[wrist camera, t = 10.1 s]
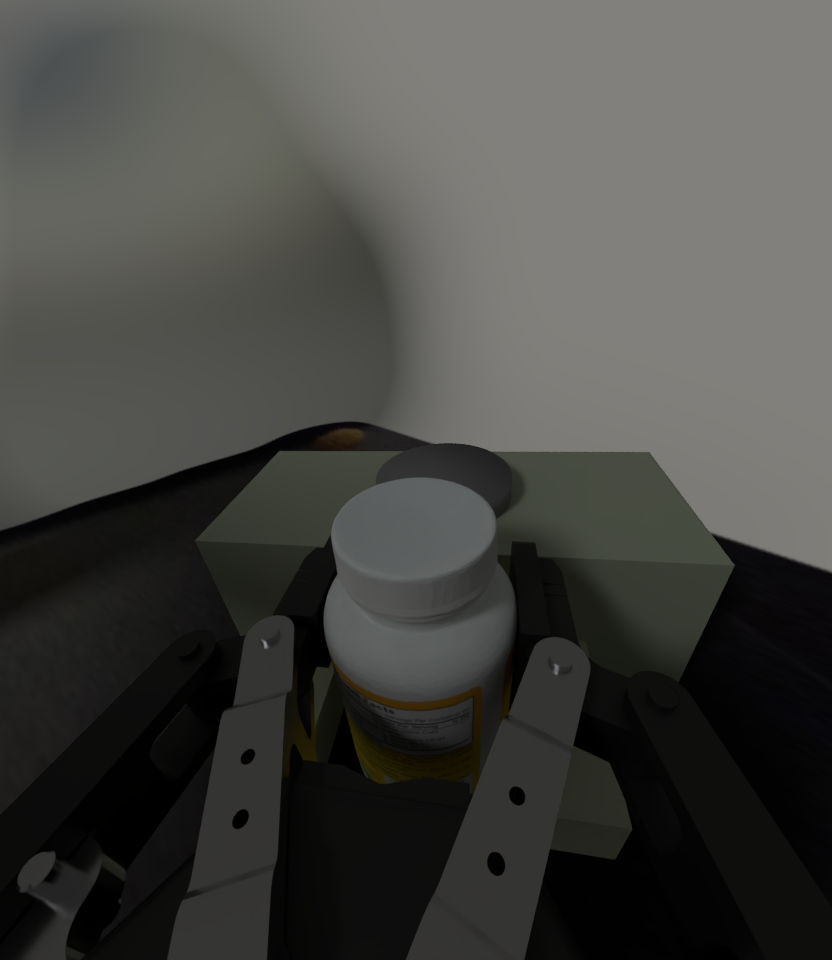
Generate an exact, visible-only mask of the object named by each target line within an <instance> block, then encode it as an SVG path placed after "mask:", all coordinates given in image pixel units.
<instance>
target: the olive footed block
mask: <svg viewBox="0 0 832 960" xmlns="http://www.w3.org/2000/svg"><path fill="white" fill-rule="evenodd" d="M416 477H419V478H435V479H442V480H446V481H451V482H455V483H458V484H461V485H463V486H465V487H468V488H470V489H471V490H473V491H475V492H476V493H478V494H479V495H480V496H482V497H483V498H484V499H485V500H486V501H487V502H488V503H489V505H490V506H491V508H492V509H493V511H494V513H495V516H496V520H497V554H498V558H497V562H498V563H499V564H500V565H501V567H502V568H503V569H504V571H505V572H506V574H507V576H508V577H509V573H510V558H511V544H512V541H523V542H535V543H536V549H537V555H538V558H544V559H553V560H554V562H555V563H556V564H557V565H558V567H559V568H560V569H561V570H562V574H563V578H564V582H565V587H566V591H567V595H568V596H567V597H568V600H569V604H570V608H571V613H572V617H573V622H574V626H575V630H576V635H577V639H578V642H579V645H580V647H581V648H582V650H583V651H584V653H585V654H586V655H587V656H588V657H589V658H590V659H591V660H592V661H594V662H595V663H596V664H598V665H600V666H601V667H603V668H606V669H608V670H610V671H613V672H616V673H618V674H621V675H624V676H626V677H629V678H631V677H632V675H634V674H635V673H638V672H641V671H655V672H659V673H662V674H664V675H667V676H669V677H671V678H672V679H674V680H675V681H677V682H679V680H680V678H681V676H682V674H683V672H684V670H685V668H686V666H687V663H688V661H689V659H690V657H691V655H692V653H693V651H694V649H695V647H696V645H697V643H698V641H699V638H700V636H701V634H702V632H703V630H704V628H705V626H706V624H707V622H708V620H709V618H710V616H711V613H712V611H713V609H714V607H715V605H716V603H717V601H718V599H719V597H720V595H721V593H722V591H723V588H724V586H725V584H726V582H727V580H728V578H729V576H730V574H731V572H732V570H733V568H734V566H735V565H734V564H733V563H732V561H731V560H730V559H729V557H728V556H727V555H726V553H725V552H724V551H723V549H722V548H721V547H720V545H719V544H718V543H717V541H716V540H715V539H714V538H713V536H712V535H711V534H710V532H709V531H708V530H707V528H706V527H705V526H704V524H703V523H702V522H701V520H700V519H699V518H698V516H697V515H696V514H695V512H694V511H693V510H692V508H691V507H690V506H689V504H688V503H687V502H686V501H685V499H684V498H683V497H682V495H681V494H680V492H679V491H678V490H677V488H676V487H675V486H674V484H673V483H672V482H671V480H670V479H669V478H668V476H667V475H666V474H665V472H664V471H663V470H662V469H661V467H660V466H659V465H658V463H657V462H656V461H655V459H654V458H653V457H652V455H651V454H650V453H649V452H490V451H488V450H486V449H483V448H479V447H476V446H471V445H465V444H452V443H450V444H449V443H448V444H447V443H444V444H431V445H425V446H420V447H416V448H412V449H409V450H406V451H279V452H278V453H277V454H276V455H275V456H274V457H273V458H272V460H271V461H270V462H269V463H268V464H267V465H266V466H265V467H264V468H263V469H262V470H261V471H260V472H259V473H258V474H257V475H256V476H255V478H254V479H253V480H252V481H251V482H250V483H249V484H248V485H247V486H246V487H245V488H244V489H243V490H242V491H241V492H240V493H239V494H238V495H237V497H236V498H235V499H234V500H233V501H232V502H231V503H230V504H229V505H228V506H227V507H226V508H225V509H224V510H223V511H222V512H221V513H220V515H219V516H218V517H217V518H216V519H215V520H214V521H213V522H212V523H211V524H210V525H209V526H208V527H207V528H206V529H205V530H204V531H203V533H202V534H201V535H200V536H199V537H198V538H197V539H196V540H195V543H196V545H197V547H198V549H199V551H200V553H201V555H202V557H203V559H204V561H205V563H206V565H207V567H208V569H209V572H210V574H211V576H212V578H213V580H214V582H215V584H216V586H217V588H218V590H219V592H220V594H221V596H222V599H223V601H224V603H225V605H226V607H227V609H228V611H229V613H230V615H231V617H232V619H233V621H234V623H235V625H236V628H237V630H238V632H239V634H240V636H243V635H246V634H247V633H248V631H249V630H250V629H251V628H252V627H253V626H254V625H255V624H256V623H257V622H259V621H261V620H262V619H265V618H267V617H270V616H272V615H273V613H274V611H275V610H276V608H277V606H278V604H279V603H280V601H281V599H282V597H283V596H284V594H285V592H286V590H287V588H288V587H289V585H290V583H291V581H293V578H294V576H295V574H296V573H297V571H299V567H300V565H301V564H302V562H303V560H304V558H305V557H306V556H307V555H308V554H309V553H311V552H312V551H313V550H314V549H315V548H316V547H320V548H324V546H325V544H326V542H327V540H328V538H329V537H330V535H331V531H332V525H333V522H334V519H335V517H336V516H337V514H338V513H339V511H340V510H341V508H342V507H343V506H344V505H345V504H346V503H347V502H348V501H349V500H350V499H352V498H353V497H355V496H356V495H357V494H359V493H361V492H362V491H364V490H366V489H369V488H371V487H373V486H375V485H378V484H381V483H385V482H389V481H393V480H398V479H404V478H416ZM513 671H514V666H513ZM514 672H515V671H514ZM312 679H313V682H314V714H315V749H316V756H317V761H318V762H323V763H328V760H329V757H330V753H331V750H332V747H333V743H334V740H335V737H336V733H337V730H338V727H339V723H340V720H341V716H342V713H343V710H344V703H343V701H342V697H341V694H340V690H339V686H338V683H337V679H336V676H335V672H334V668H333V665H332V661H331V663H330V666H329V668H325V667H317V668H316V671H315V673H314V676H313V678H312ZM631 831H632V826H631V822H630V818H629V814H628V810H627V806H626V801H625V799H624V796H623V794H622V792H621V789H620V787H619V784H618V782H617V780H616V777H615V775H614V773H613V770H612V768H611V765H610V763H609V762H607V761H605V760H603V759H600V758H598V757H596V756H594V755H592V754H590V753H588V752H586V751H583V750H581V749H579V748H577V747H575V746H573V749H572V755H571V759H570V764H569V768H568V772H567V777H566V781H565V785H564V790H563V794H562V798H561V803H560V807H559V811H558V816H557V820H556V824H555V829H554V833H553V837H552V842H551V846H550V849H553V850H559V851H565V852H571V853H577V854H583V855H590V856H596V857H602V858H608V859H614V860H615V859H616V857H617V855H618V854H619V852H620V850H621V848H622V847H623V845H624V843H625V841H626V840H627V838H628V836H629V834H630V832H631Z"/></svg>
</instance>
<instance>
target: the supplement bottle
mask: <svg viewBox="0 0 832 960" xmlns="http://www.w3.org/2000/svg"><path fill="white" fill-rule="evenodd" d="M331 540H332V547H333V552H334V557H335V561H336V568H337V576H336V577H335V579H334V581H333V583H332V585H331V587H330V590H329V592H328V595H327V598H326V603H325V607H324V621H323V624H324V633H325V638H326V643H327V647H328V650H329V654H330V658H331V661H332V665H333V668H334V672H335V676H336V679H337V683H338V686H339V690H340V694H341V697H342V701H343V703H344V707H345V711H346V714H347V718H348V722H349V725H350V729H351V733H352V737H353V741H354V744H355V749H356V753H357V756H358V759H359V762H360V765H361V767H362V770H363V772H364V774H365V776H366V777H367V778H369V779H371V780H373V781H375V782H377V783H379V784H389V783H395V782H401V781H407V780H413V779H419V778H425V777H428V778H435V779H442V780H449V781H456V782H463V783H470V797H473V794H474V791H475V789H476V786H477V784H478V781H479V779H480V776H481V773H482V771H483V768H484V766H485V763H486V760H487V758H488V755H489V753H490V750H491V747H492V745H493V742H494V740H495V737H496V735H497V732H498V729H499V727H500V725H501V722H502V720H503V719H504V717H505V716H507V715H508V712H509V702H510V692H511V684H512V675H513V666H514V658H515V649H516V639H517V628H518V610H517V599H516V595H515V592H514V589H513V586H512V584H511V581H510V579H509V577H508V576H507V574H506V572H505V571H504V569H503V568H502V567H501V565H500V564H499V563H498V562H497V558H498V554H497V520H496V516H495V513H494V511H493V509H492V508H491V506H490V505H489V503H488V502H487V501H486V500H485V499H484V498H483V497H482V496H480V495H479V494H478V493H476V492H475V491H473V490H471V489H470V488H468V487H465V486H463V485H461V484H458V483H455V482H451V481H446V480H442V479H435V478H419V477H416V478H404V479H398V480H393V481H389V482H385V483H381V484H378V485H375V486H373V487H371V488H369V489H366V490H364V491H362V492H361V493H359V494H357V495H356V496H355V497H353V498H352V499H350V500H349V501H348V502H347V503H346V504H345V505H344V506H343V507H342V508H341V510H340V511H339V513H338V514H337V516H336V517H335V519H334V522H333V525H332V531H331Z"/></svg>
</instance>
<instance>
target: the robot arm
mask: <svg viewBox="0 0 832 960" xmlns="http://www.w3.org/2000/svg"><path fill="white" fill-rule="evenodd" d="M336 576H337V568H336V561H335V557H334V552H333V547H332V540H331V535H330V537H329V538H328V540H327V542H326V544H325V546H324V548H320V547H316V548H315V549H314V550H313V551H312V552H311V553H309V554H308V555H307V556H306V557H305V558H304V560H303V562H302V564H301V565H300V567H299V571H297V573H296V574H295V576H294V578H293V581H291V583H290V585H289V587H288V588H287V590H286V592H285V594H284V596H283V597H282V599H281V601H280V603H279V604H278V606H277V608H276V610H275V611H274V613H273V615H272V616H270V617H267V618H265V619H262V620H261V621H259V622H257V623H256V624H255V625H254V626H253V627H252V628H251V629H250V630H249V631H248V633H247V634H246V635H243V636H239V637H234V638H230V639H225V640H220V641H217V639H216V637H215V636H214V634H213V633H212V632H210V631H207V630H197V631H193V632H190V633H187V634H185V635H183V636H182V637H180V638H178V639H177V640H176V641H175V642H173V643H172V644H171V645H170V646H169V647H168V648H167V649H166V650H165V651H164V652H163V653H162V654H161V655H160V656H159V657H158V658H157V659H156V660H155V661H154V662H153V663H152V664H151V665H150V666H149V667H148V668H147V669H146V670H145V671H144V672H143V673H142V674H141V675H140V676H139V677H138V678H137V679H136V680H135V681H134V682H133V683H132V684H131V685H130V686H129V687H128V688H127V689H126V690H125V691H124V692H123V693H122V694H121V695H120V696H119V697H118V698H117V699H116V700H115V701H114V702H113V703H112V704H111V705H110V706H109V707H108V708H107V709H106V710H105V711H104V712H103V713H102V714H101V715H100V716H99V717H98V718H97V719H96V720H95V721H94V722H93V723H92V724H91V725H90V726H89V727H88V728H87V729H86V730H85V731H84V732H83V733H82V734H81V735H80V736H79V737H78V738H77V739H76V740H75V741H74V742H73V743H72V744H71V745H70V746H69V747H68V748H67V749H66V750H65V751H64V752H63V753H62V754H61V755H60V756H59V757H58V758H57V759H56V760H55V761H54V762H53V763H52V764H51V765H50V766H49V767H48V768H47V769H46V770H45V771H44V772H43V773H42V774H41V775H40V776H39V777H38V778H37V779H36V780H35V781H34V782H33V783H32V784H31V785H30V786H29V787H28V788H27V789H26V790H25V791H24V792H23V793H22V794H21V795H20V796H19V797H18V798H17V799H16V800H15V801H14V802H13V803H12V804H11V805H10V806H9V807H8V808H7V809H6V810H5V811H4V812H3V813H2V814H1V815H0V960H588V959H587V957H586V956H585V954H584V952H583V950H582V949H581V947H580V945H579V944H578V942H577V940H576V938H575V937H574V935H573V933H572V931H571V930H570V928H569V926H568V924H567V923H566V921H565V919H564V918H563V916H562V914H561V912H560V911H559V909H558V907H557V905H556V904H555V902H554V900H553V898H552V897H551V895H550V893H549V891H548V890H547V888H546V886H545V885H544V883H543V876H544V872H545V868H546V863H547V859H548V855H549V850H550V846H551V842H552V837H553V833H554V829H555V824H556V820H557V816H558V811H559V807H560V803H561V798H562V794H563V790H564V785H565V781H566V777H567V772H568V768H569V764H570V759H571V755H572V749H573V746H575V747H577V748H579V749H581V750H583V751H586V752H588V753H590V754H592V755H594V756H596V757H598V758H600V759H603V760H605V761H607V762H609V763H610V765H611V768H612V770H613V773H614V775H615V777H616V780H617V782H618V784H619V787H620V789H621V792H622V794H623V796H624V799H625V801H626V804H627V806H628V808H629V811H630V813H631V815H632V818H633V820H634V823H635V825H636V827H637V830H638V832H639V834H640V837H641V839H642V842H643V844H644V846H645V849H646V851H647V853H648V856H649V858H650V861H651V863H652V865H653V868H654V870H655V872H656V875H657V877H658V880H659V882H660V884H661V887H662V889H663V891H664V894H665V896H666V899H667V901H668V903H669V906H670V908H671V911H672V913H673V915H674V918H675V920H676V922H677V925H678V927H679V930H680V932H681V934H682V937H683V939H684V941H685V944H686V946H687V949H688V951H689V953H690V956H691V958H692V960H832V906H831V905H830V903H829V902H828V900H827V899H826V897H825V896H824V894H823V893H822V891H821V890H820V888H819V887H818V885H817V884H816V882H815V881H814V879H813V878H812V876H811V875H810V873H809V872H808V870H807V869H806V867H805V866H804V864H803V863H802V861H801V860H800V858H799V857H798V855H797V854H796V852H795V851H794V849H793V848H792V846H791V845H790V843H789V842H788V840H787V839H786V837H785V836H784V834H783V833H782V831H781V830H780V828H779V827H778V825H777V824H776V822H775V821H774V819H773V818H772V816H771V815H770V813H769V812H768V810H767V809H766V807H765V806H764V804H763V803H762V801H761V800H760V798H759V797H758V795H757V794H756V792H755V791H754V789H753V788H752V786H751V785H750V783H749V782H748V780H747V779H746V777H745V776H744V774H743V773H742V771H741V770H740V768H739V767H738V765H737V764H736V762H735V761H734V759H733V758H732V756H731V755H730V753H729V752H728V750H727V749H726V747H725V746H724V744H723V743H722V741H721V740H720V738H719V737H718V735H717V734H716V732H715V731H714V729H713V728H712V726H711V725H710V723H709V722H708V720H707V719H706V717H705V716H704V714H703V713H702V711H701V710H700V708H699V707H698V705H697V704H696V702H695V701H694V699H693V698H692V696H691V695H690V694H689V692H688V691H687V690H686V689H685V688H684V687H683V686H682V685H681V684H680V683H678V682H677V681H675V680H674V679H672V678H671V677H669V676H667V675H664V674H662V673H659V672H655V671H641V672H638V673H635V674H634V675H632V677H631V678H629V677H626V676H624V675H621V674H618V673H616V672H613V671H610V670H608V669H606V668H603V667H601V666H600V665H598V664H596V663H595V662H594V661H592V660H591V659H590V658H589V657H588V656H587V655H586V654H585V653H584V651H583V650H582V648H581V647H580V645H579V642H578V639H577V635H576V630H575V626H574V622H573V617H572V613H571V608H570V604H569V600H568V597H567V596H568V595H567V591H566V587H565V582H564V578H563V574H562V570H561V569H560V568H559V567H558V565H557V564H556V563H555V562H554V560H553V559H544V558H538V555H537V549H536V543H535V542H523V541H512V544H511V558H510V573H509V579H510V581H511V584H512V586H513V589H514V592H515V595H516V599H517V610H518V628H517V639H516V649H515V658H514V671H515V687H516V688H518V691H517V693H516V696H515V699H514V701H513V704H512V707H511V709H510V712H509V714H508V715H507V716H505V717H504V719H503V720H502V722H501V725H500V727H499V729H498V732H497V735H496V737H495V740H494V742H493V745H492V747H491V750H490V753H489V755H488V758H487V760H486V763H485V766H484V768H483V771H482V773H481V776H480V779H479V781H478V784H477V786H476V789H475V791H474V794H473V797H470V783H463V782H456V781H449V780H442V779H435V778H428V777H425V778H419V779H413V780H407V781H401V782H395V783H389V784H379V783H377V782H375V781H373V780H371V779H369V778H367V777H365V776H363V775H361V774H359V773H357V772H355V771H353V770H351V769H349V768H347V767H345V766H343V765H337V764H330V763H323V762H318V761H317V756H316V749H315V714H314V682H313V679H312V678H313V676H314V673H315V671H316V668H317V667H325V668H329V666H330V663H331V658H330V654H329V650H328V647H327V643H326V638H325V633H324V624H323V621H324V607H325V603H326V598H327V595H328V592H329V590H330V587H331V585H332V583H333V581H334V579H335V577H336ZM186 703H187V706H186V707H185V708H184V709H183V710H182V712H181V713H180V714H179V715H178V716H177V718H176V719H175V720H174V721H173V722H172V724H171V725H170V726H169V727H168V728H167V729H166V731H165V732H164V733H163V734H162V735H161V737H160V738H159V739H158V740H157V741H156V743H155V744H154V745H153V746H152V744H153V742H154V741H155V739H156V738H157V737H158V735H159V734H160V733H161V732H162V731H163V730H164V728H165V727H166V726H167V725H168V724H169V722H170V721H171V720H172V719H173V718H174V717H175V715H176V714H177V713H178V712H179V711H180V710H181V708H182V707H183V706H184V705H185V704H186ZM215 746H216V747H215ZM214 748H215V753H214V758H213V764H212V769H211V774H210V780H209V785H208V790H207V796H206V801H205V807H204V812H203V817H202V823H201V828H200V833H199V839H198V844H197V850H196V852H195V853H194V854H193V855H192V856H190V857H189V858H188V859H187V860H186V861H185V862H184V863H183V864H182V865H181V866H180V867H179V868H178V869H177V870H176V871H174V872H173V873H172V874H171V875H170V876H169V877H168V878H167V879H166V880H165V881H164V882H163V883H162V884H161V885H160V886H159V887H157V888H156V889H155V890H154V891H153V892H152V893H151V894H150V895H149V896H148V897H147V898H146V899H145V900H144V901H143V902H141V903H140V904H139V905H138V906H137V907H136V908H135V909H134V910H133V911H132V912H131V913H130V914H129V915H128V916H127V917H125V918H124V919H123V920H122V921H121V922H120V923H119V924H118V925H117V926H116V927H115V928H114V929H113V930H112V931H111V932H109V933H108V934H107V935H106V936H105V937H104V938H103V939H102V940H101V941H100V942H99V943H98V941H99V939H100V936H101V933H102V931H103V929H105V928H106V927H107V926H108V925H109V924H110V923H111V922H112V921H113V920H114V918H115V917H116V915H117V913H118V911H119V909H120V905H121V894H122V891H123V888H124V884H125V877H126V870H127V869H128V867H129V866H130V865H131V863H132V862H133V861H134V859H135V858H136V856H137V855H138V854H139V852H140V851H141V849H142V848H143V847H144V845H145V844H146V842H147V841H148V840H149V838H150V837H151V835H152V834H153V833H154V831H155V830H156V829H157V827H158V826H159V824H160V823H161V822H162V820H163V819H164V817H165V816H166V815H167V813H168V812H169V810H170V809H171V808H172V806H173V805H174V803H175V802H176V801H177V799H178V798H179V796H180V795H181V794H182V792H183V791H184V790H185V788H186V787H187V785H188V784H189V783H190V781H191V780H192V778H193V777H194V776H195V774H196V773H197V771H198V770H199V769H200V767H201V766H202V764H203V763H204V762H205V760H206V759H207V758H208V756H209V755H210V753H211V752H212V751H213V749H214Z"/></svg>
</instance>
